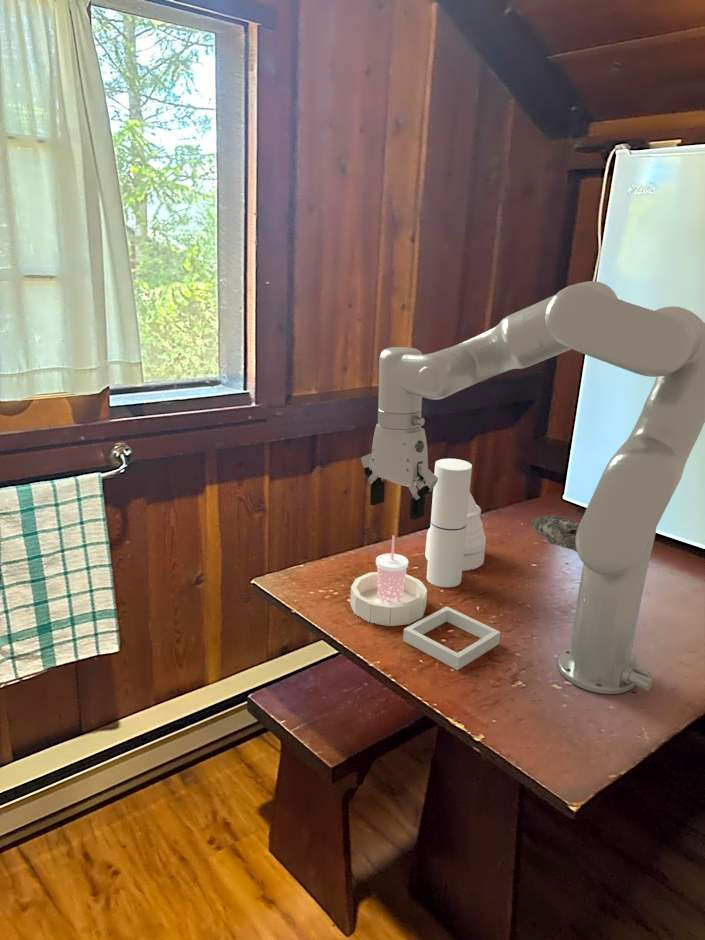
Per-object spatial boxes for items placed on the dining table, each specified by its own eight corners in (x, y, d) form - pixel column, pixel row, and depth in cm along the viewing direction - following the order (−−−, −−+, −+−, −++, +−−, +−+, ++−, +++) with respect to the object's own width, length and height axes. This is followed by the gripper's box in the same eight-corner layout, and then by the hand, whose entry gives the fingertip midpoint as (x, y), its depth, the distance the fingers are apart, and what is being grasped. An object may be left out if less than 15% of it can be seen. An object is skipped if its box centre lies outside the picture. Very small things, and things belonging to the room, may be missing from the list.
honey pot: (413, 554, 166) (418, 477, 160) (452, 540, 174) (459, 466, 168) (456, 576, 157) (463, 495, 151) (496, 560, 165) (504, 483, 159)
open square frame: (499, 643, 133) (500, 632, 132) (457, 670, 124) (458, 657, 124) (445, 617, 140) (446, 606, 140) (403, 640, 132) (403, 628, 132)
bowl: (439, 607, 144) (441, 590, 143) (390, 633, 134) (391, 615, 133) (386, 581, 153) (387, 565, 152) (336, 604, 144) (336, 586, 142)
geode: (597, 558, 168) (614, 536, 180) (600, 543, 167) (616, 521, 179) (516, 538, 178) (537, 518, 190) (518, 523, 176) (538, 504, 188)
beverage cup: (403, 613, 140) (408, 544, 135) (371, 608, 141) (374, 540, 136) (407, 597, 146) (412, 531, 141) (376, 593, 147) (379, 527, 142)
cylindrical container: (421, 581, 154) (429, 466, 146) (434, 568, 160) (443, 456, 152) (454, 590, 151) (464, 472, 142) (466, 576, 157) (477, 462, 148)
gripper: (452, 424, 128) (447, 518, 134) (378, 407, 140) (376, 493, 145) (423, 432, 123) (419, 529, 129) (349, 413, 135) (348, 503, 140)
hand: (396, 510), depth 137 cm, fingers open, 9 cm apart
